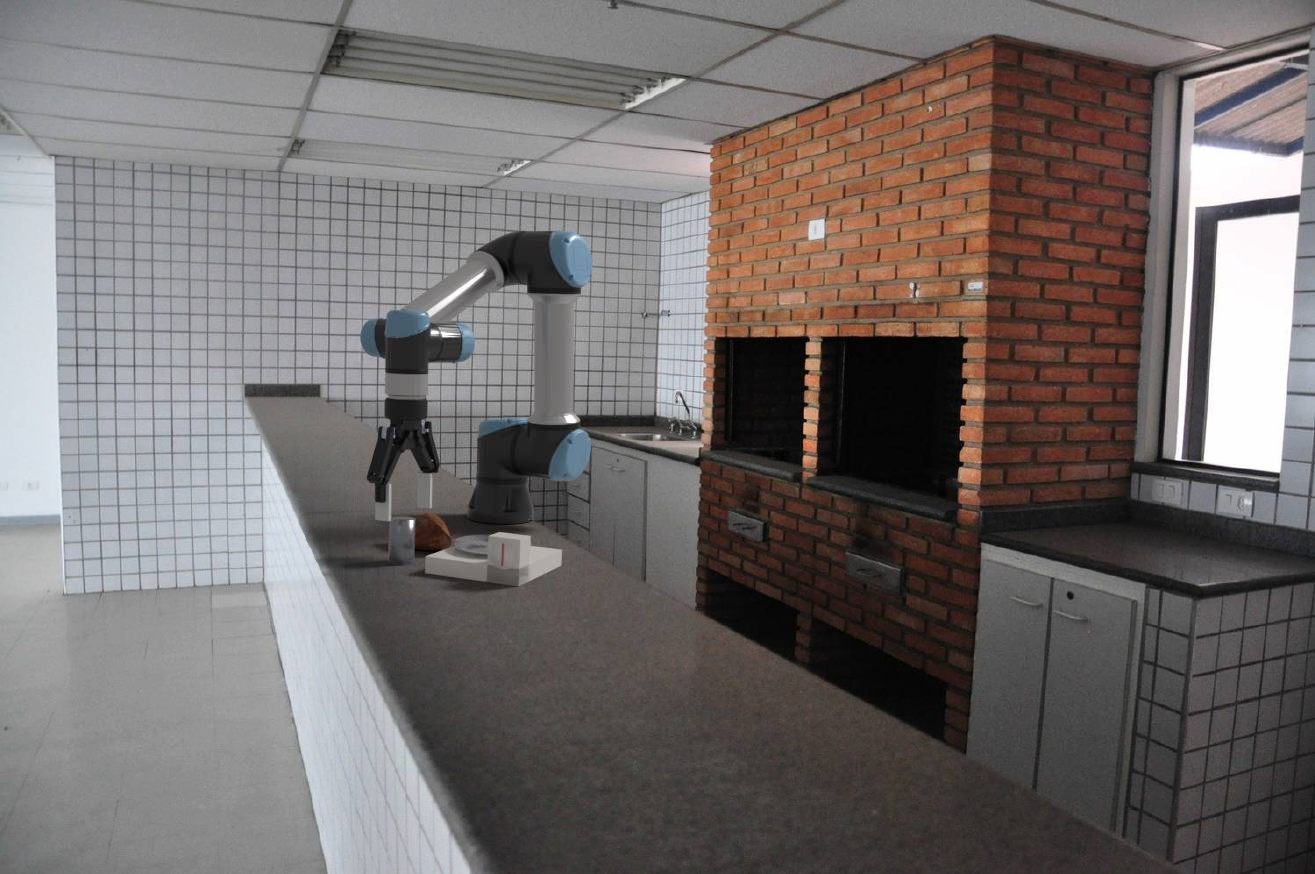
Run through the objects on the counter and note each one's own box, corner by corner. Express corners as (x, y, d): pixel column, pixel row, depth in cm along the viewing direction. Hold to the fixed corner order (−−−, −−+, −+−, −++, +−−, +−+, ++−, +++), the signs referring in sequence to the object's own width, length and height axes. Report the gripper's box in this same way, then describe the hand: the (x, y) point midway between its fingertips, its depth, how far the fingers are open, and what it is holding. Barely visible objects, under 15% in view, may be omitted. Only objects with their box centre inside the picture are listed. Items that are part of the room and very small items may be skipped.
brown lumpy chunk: (462, 538, 190) (435, 492, 190) (422, 560, 186) (395, 513, 186) (450, 548, 201) (425, 505, 201) (413, 569, 197) (388, 526, 198)
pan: (476, 539, 191) (476, 531, 191) (543, 548, 187) (544, 540, 187) (438, 552, 178) (438, 544, 178) (509, 562, 174) (510, 554, 174)
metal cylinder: (397, 558, 185) (398, 515, 184) (419, 561, 184) (420, 518, 183) (383, 563, 181) (384, 519, 180) (405, 566, 180) (406, 522, 179)
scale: (474, 554, 192) (476, 512, 191) (561, 565, 187) (563, 523, 186) (423, 573, 175) (425, 528, 174) (517, 587, 169) (519, 540, 168)
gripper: (425, 391, 192) (423, 500, 195) (346, 400, 169) (345, 523, 171) (459, 394, 190) (457, 504, 193) (384, 403, 167) (383, 528, 169)
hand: (404, 513), depth 182 cm, fingers open, 13 cm apart
